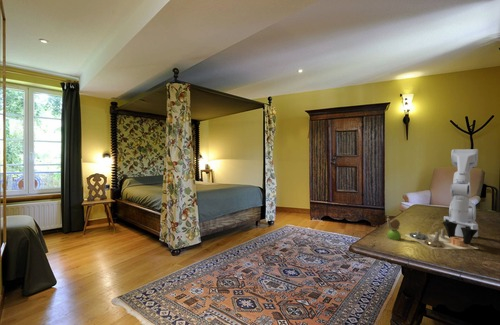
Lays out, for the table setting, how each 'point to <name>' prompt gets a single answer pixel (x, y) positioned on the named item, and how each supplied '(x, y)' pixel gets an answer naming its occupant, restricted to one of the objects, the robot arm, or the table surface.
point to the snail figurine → (393, 229)
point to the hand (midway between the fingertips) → (458, 240)
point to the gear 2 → (431, 243)
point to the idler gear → (457, 241)
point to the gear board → (442, 239)
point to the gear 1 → (419, 236)
